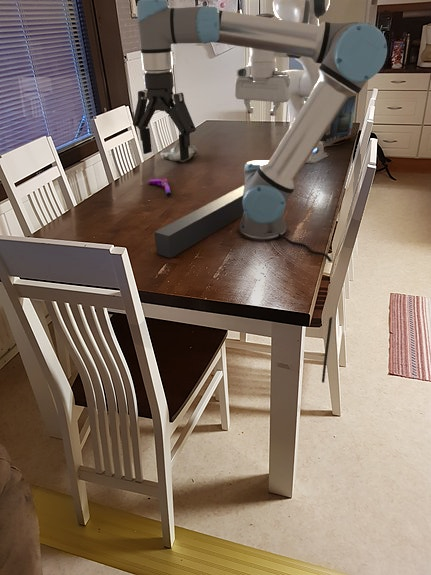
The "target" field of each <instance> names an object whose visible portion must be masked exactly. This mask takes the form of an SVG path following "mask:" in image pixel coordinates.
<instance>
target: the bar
mask: <svg viewBox="0 0 431 575" xmlns="http://www.w3.org/2000/svg"><path fill="white" fill-rule="evenodd" d="M243 194H244V185H242V186H240V187H238V188H236V189H233V190H232V191H229V192H228V193H226V194H225V195H222V196H221V197H219V198H216V199H215V200H213V201H211V202H209V203H207V204H205V205H203V206H201V207H199V208H198V209H196V210H194V211H192V212H190V213H188V214H186V215H184V216H182V217H180V218H178V219H176V220H174V221H172V222H170V223H169V224H166V225H164V226H163V227H161V228H159V229H157V230H156V231H154V241H155V250H156V254H157V255H159V256H161V257H166V258H169V259H172V258H174V257H176V256H177V255H179V254H180V253H182V252H184V251H186V250H187V249H189V248H191V247H192V246H194V245H195V244H197V243H198V242H200V241H202V240H203V239H205V238H207V237H209V236H210V235H212V234H213V233H215V232H217V231H219V230H220V229H222V228H224V227H225V226H227V225H228V224H231V223H232V222H234V221H236V220H237V219H238V218H240V217H242V216H243V213H244V209H243V205H242V199H243Z"/></svg>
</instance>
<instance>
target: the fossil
mask: <svg viewBox="0 0 431 575" xmlns="http://www.w3.org/2000/svg"><path fill="white" fill-rule="evenodd" d="M188 149H189V158H188V159H186V160H183V161H182V160H180V146H179V142H176V143H175V145H174V146H173V147H172V148H171V149H170V150H168V149H165V150H162V151H161V152H160V156H161V158H162V159H163V160H169V161H174V162H177V161H179V162H180V163H185V162H187V161H188V160H190V159H191V158H192V157H193V156H194V155H197V154H198V153H199V150H198V148H197V146H195V145H190V146H189V147H188Z"/></svg>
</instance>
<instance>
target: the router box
mask: <svg viewBox="0 0 431 575" xmlns="http://www.w3.org/2000/svg"><path fill="white" fill-rule="evenodd" d="M307 99H308V97H304V100H305V102H306V100H307ZM356 99H357V95H355V96H352V97H349V98H348V99H347V101H346V102H345V104H344V105H343V107H342V108H341V110H340V111H339V113H338V114H337V116H336V117H335V119H334V120H333V122H332V123H331V125H330V126H329V128H328V129H327V131H326V132H325V134H324V135H323V137H322V139H321V140H320V141H321V142H322V143H323V144H325V143H328V142H331V141H333V140H336V139H338V138H341V137H344V136H347V135H351V136H352V134H351V132H353V125H354V115H355V109H356Z"/></svg>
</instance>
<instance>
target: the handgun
mask: <svg viewBox="0 0 431 575" xmlns="http://www.w3.org/2000/svg"><path fill="white" fill-rule="evenodd" d="M148 182H149V185H158V186H162V189H164V190H165V195H166V197H168V198H170V197H172V192H171V188H170V185H169V183H168V178H166V177H163V178H162V177H161V178H160V179H159V178H157V179H156V178H155V179H149V180H148Z"/></svg>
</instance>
